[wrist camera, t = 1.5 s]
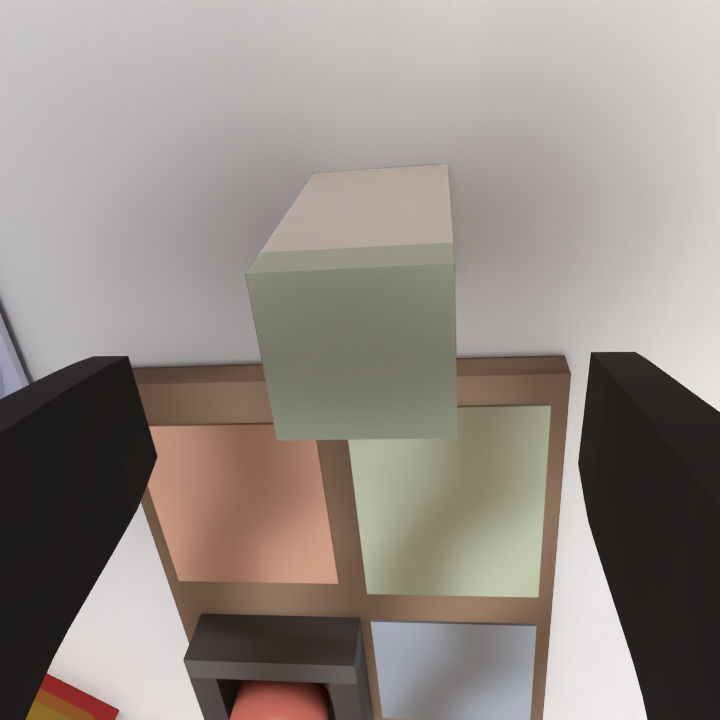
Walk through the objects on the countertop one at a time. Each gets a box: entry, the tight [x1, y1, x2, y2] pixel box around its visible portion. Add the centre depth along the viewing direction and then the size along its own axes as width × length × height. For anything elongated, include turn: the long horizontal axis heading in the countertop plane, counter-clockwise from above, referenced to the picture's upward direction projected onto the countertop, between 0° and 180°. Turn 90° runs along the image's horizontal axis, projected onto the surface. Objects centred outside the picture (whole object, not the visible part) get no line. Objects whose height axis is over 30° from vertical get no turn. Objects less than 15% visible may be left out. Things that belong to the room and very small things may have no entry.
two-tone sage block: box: [245, 164, 458, 440], centre depth 14 cm, size 4×4×7 cm
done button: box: [230, 680, 331, 720], centre depth 24 cm, size 4×4×2 cm
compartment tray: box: [132, 356, 571, 720], centre depth 22 cm, size 14×17×3 cm
